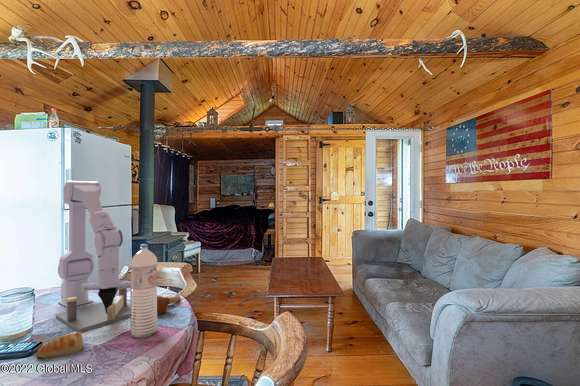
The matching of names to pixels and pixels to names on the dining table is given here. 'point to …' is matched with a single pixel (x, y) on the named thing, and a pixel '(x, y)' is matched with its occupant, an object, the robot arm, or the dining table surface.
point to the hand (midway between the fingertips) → (108, 312)
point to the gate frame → (91, 314)
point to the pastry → (62, 346)
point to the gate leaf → (115, 307)
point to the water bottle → (143, 293)
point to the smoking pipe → (165, 303)
